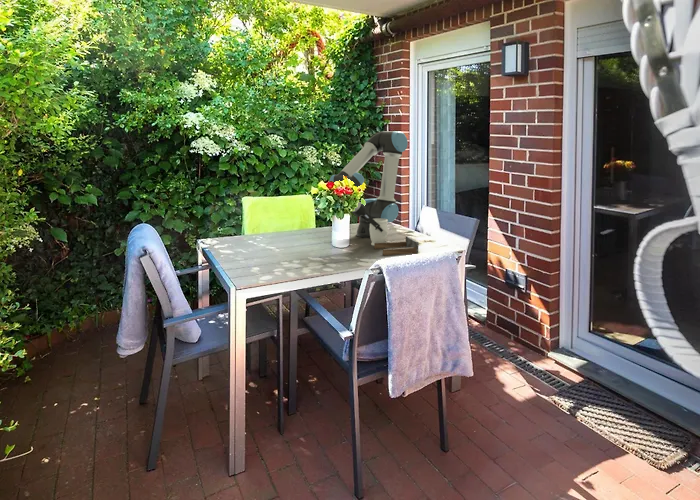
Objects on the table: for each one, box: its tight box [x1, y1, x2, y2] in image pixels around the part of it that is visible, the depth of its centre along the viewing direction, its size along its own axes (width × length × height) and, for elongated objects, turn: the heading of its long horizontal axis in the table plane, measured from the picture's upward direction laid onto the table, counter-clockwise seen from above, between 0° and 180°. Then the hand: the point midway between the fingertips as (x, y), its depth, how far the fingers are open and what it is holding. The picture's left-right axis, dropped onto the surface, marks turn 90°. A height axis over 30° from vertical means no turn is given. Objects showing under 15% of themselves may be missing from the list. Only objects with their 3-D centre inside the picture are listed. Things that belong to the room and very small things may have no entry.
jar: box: [369, 218, 389, 247], centre depth 300 cm, size 11×10×15 cm
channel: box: [373, 235, 419, 256], centre depth 287 cm, size 16×20×6 cm
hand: (381, 232), depth 301 cm, fingers open, 13 cm apart
